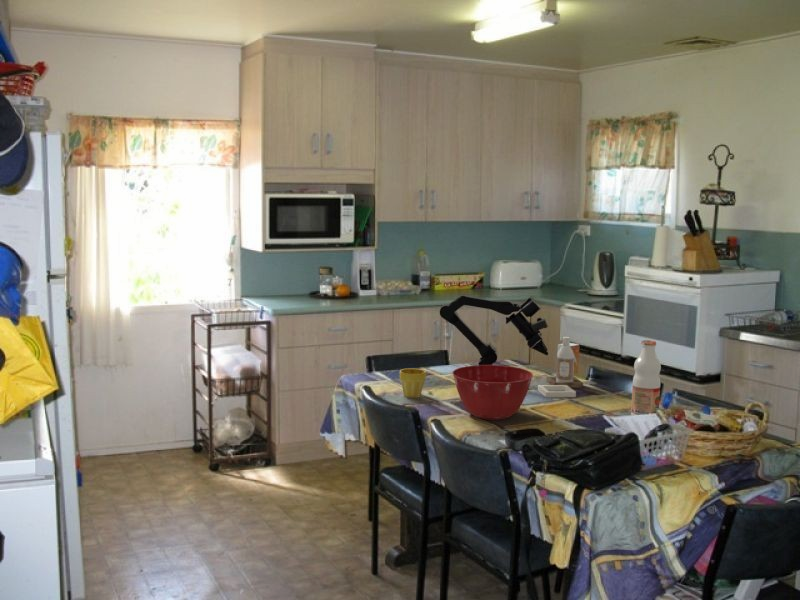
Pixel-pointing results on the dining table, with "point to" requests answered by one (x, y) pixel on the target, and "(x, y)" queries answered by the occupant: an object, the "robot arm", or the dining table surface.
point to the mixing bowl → (492, 389)
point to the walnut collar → (574, 384)
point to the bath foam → (565, 362)
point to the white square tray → (556, 391)
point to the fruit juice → (646, 381)
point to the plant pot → (412, 381)
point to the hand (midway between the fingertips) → (547, 352)
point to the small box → (576, 355)
